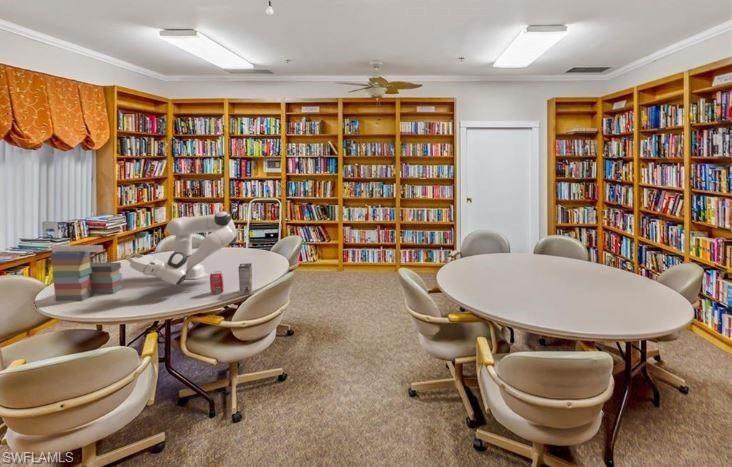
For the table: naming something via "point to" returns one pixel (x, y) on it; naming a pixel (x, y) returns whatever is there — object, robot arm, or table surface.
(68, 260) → the tall book stack
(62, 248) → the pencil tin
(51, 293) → the table surface
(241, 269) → the coffee box
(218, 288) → the soda can
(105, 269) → the short book stack
